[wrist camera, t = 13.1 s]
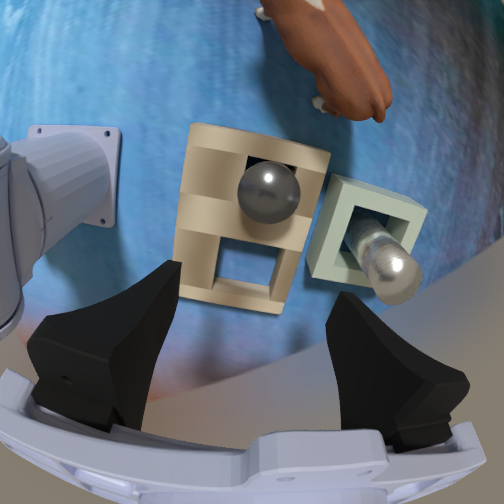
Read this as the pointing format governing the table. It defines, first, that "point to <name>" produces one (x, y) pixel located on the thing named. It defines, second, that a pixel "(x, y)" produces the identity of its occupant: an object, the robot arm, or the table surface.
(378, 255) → the silver metal cylinder
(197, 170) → the socket block
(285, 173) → the round dark knob
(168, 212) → the table surface
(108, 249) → the table surface
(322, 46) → the bull figurine
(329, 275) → the grey-green hollow square block
